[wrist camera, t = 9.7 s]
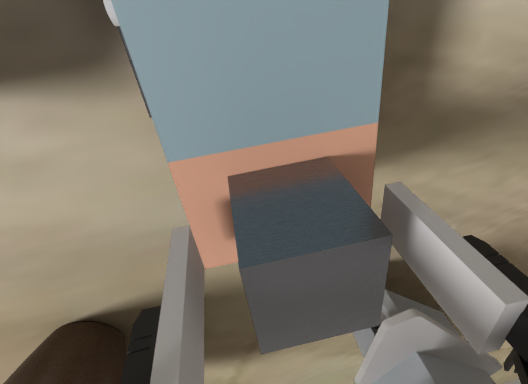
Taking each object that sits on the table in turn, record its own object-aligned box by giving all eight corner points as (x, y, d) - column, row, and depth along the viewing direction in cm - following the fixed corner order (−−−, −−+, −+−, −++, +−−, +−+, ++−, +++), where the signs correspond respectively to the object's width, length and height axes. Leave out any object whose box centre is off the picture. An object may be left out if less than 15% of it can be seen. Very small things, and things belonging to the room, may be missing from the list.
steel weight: (227, 176, 14) (239, 269, 9) (327, 156, 14) (392, 234, 9) (244, 250, 17) (261, 354, 12) (328, 232, 17) (379, 325, 12)
